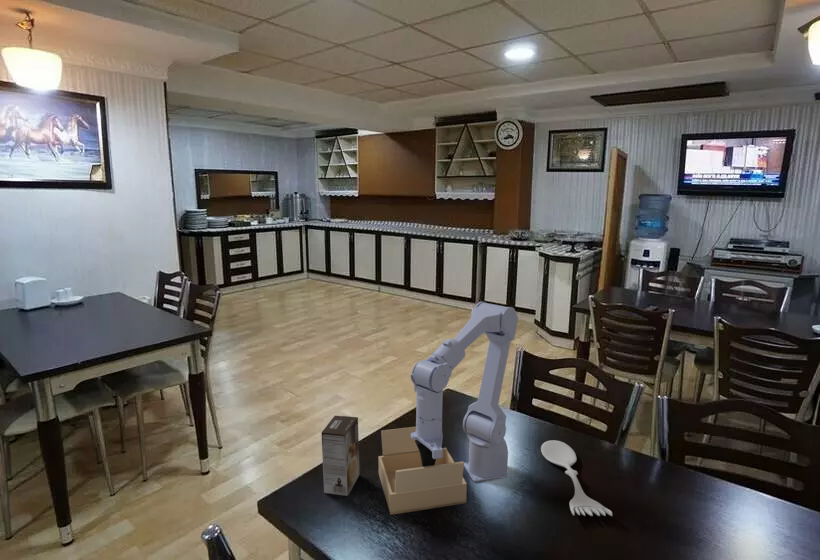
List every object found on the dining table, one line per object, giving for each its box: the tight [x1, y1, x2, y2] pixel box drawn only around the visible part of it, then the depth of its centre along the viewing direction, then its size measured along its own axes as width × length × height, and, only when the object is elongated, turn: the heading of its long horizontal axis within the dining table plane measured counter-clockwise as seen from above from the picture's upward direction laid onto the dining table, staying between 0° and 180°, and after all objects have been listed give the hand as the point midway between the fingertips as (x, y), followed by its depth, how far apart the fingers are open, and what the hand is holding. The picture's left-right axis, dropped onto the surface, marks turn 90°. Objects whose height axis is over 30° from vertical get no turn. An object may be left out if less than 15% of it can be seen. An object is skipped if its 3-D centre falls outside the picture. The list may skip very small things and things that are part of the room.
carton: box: [377, 447, 468, 516], centre depth 114 cm, size 18×16×5 cm
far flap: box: [380, 426, 419, 456], centre depth 122 cm, size 16×6×1 cm
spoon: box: [540, 439, 613, 517], centre depth 117 cm, size 9×32×4 cm, turn 178°
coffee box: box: [321, 415, 361, 497], centre depth 115 cm, size 9×6×16 cm
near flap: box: [395, 461, 465, 494], centre depth 105 cm, size 16×6×1 cm
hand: (428, 471), depth 105 cm, fingers closed, pressing on near flap
